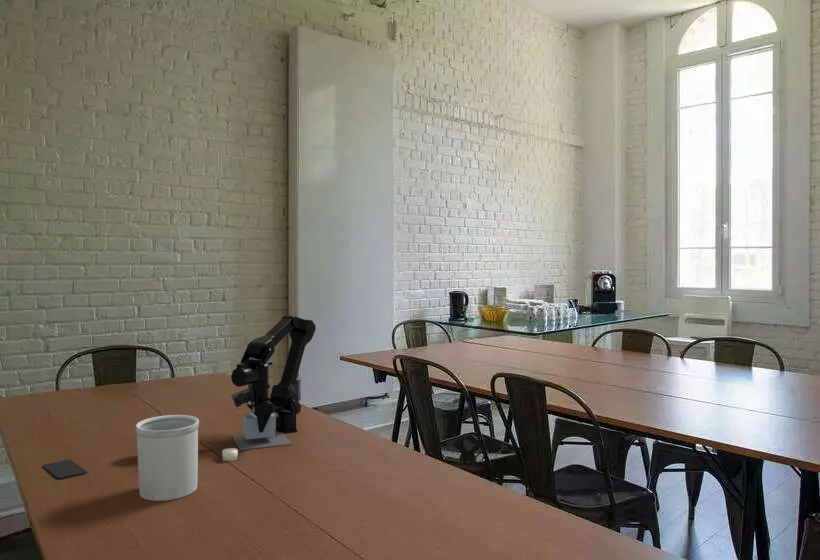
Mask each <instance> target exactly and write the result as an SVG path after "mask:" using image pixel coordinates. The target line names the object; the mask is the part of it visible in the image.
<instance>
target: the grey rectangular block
mask: <svg viewBox="0 0 820 560" xmlns="http://www.w3.org/2000/svg"><path fill="white" fill-rule="evenodd" d="M275 416H276V414H275V413H272V414H271V416H270V418H269V420H268V422H267V424H266V427H265V429H264V431H263V432H261V433H260V432H259V428H258V422H257V417H256V416H255V415H254V414H253V413H252V412H249V413H243V414H242V434H243V435H244V436H245V438H246V439H255V438H265V437H274V436H275V431H276V429H275Z"/></svg>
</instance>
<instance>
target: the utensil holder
mask: <svg viewBox="0 0 820 560" xmlns="http://www.w3.org/2000/svg"><path fill="white" fill-rule="evenodd" d="M199 426H200V419H199V418H198V417H196V416H193V415H187V414H169V415H168V414H167V415H159V416H154V417H153V416H152V417H149V418H146V419H142V420H141V421H139V422H137V424H135V432H136V443H137V445H136V446H137V447H136V448H137V472H138V473H137V475H138V489H139V491H138V492H139V496H140V498H142V499H144V500H148V501H153V502H155V501H156V502H161V501H162V502H166V501H171V500H172V501H173V500H177V499H182V498H185V497H187V496H190V495H191V494H193V493H194V492H196V490H197V489H198V481H199V480H198V473H199V470H198V469H199V467H198V466H199Z"/></svg>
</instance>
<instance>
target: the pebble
mask: <svg viewBox="0 0 820 560" xmlns="http://www.w3.org/2000/svg"><path fill="white" fill-rule="evenodd" d="M238 456H239V448H235V447H229V448H224V449H222V452H221V461H223V462H234V461H237V460H238V459H239V457H238Z"/></svg>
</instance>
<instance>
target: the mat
mask: <svg viewBox="0 0 820 560" xmlns="http://www.w3.org/2000/svg"><path fill="white" fill-rule="evenodd" d="M231 437H232V439H233V440H234V442H235V445H236V446H237V449H238V450H239V451H247V450H249V451H250V450H256V449H266V448H267V449H268V448H275V447H276V448H277V447H284V446H285V447H286V446H292V445H293V443H292V441H291V440H290V439H289V438H288V437H287V436H286V435H285V433H283V432H280V433H279V432H278V431H276V430H275V436H274V437H265V438H255V439H246V438H245V436H244V435H243V433H242V434H241V433H240V434H234V435H231Z"/></svg>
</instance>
